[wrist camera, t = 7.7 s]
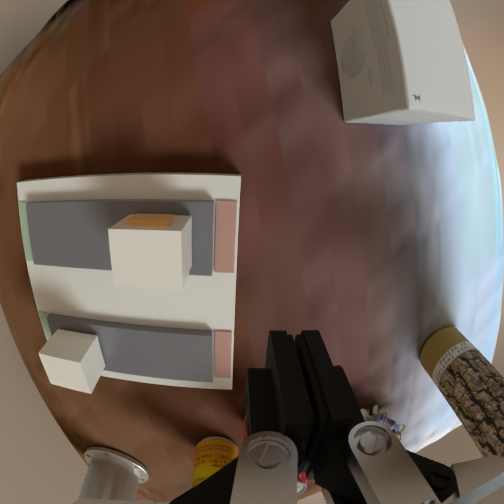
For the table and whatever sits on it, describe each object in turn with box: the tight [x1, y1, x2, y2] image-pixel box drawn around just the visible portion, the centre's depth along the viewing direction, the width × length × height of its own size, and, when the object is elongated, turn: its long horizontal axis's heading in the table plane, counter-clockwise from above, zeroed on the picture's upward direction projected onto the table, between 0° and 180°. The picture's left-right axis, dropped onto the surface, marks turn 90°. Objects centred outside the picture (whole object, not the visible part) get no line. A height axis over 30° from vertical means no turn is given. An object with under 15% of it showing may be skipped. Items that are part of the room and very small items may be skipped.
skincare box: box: [330, 0, 475, 125], centre depth 17 cm, size 10×6×10 cm, turn 5°
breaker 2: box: [108, 214, 192, 290], centre depth 20 cm, size 4×5×4 cm
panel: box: [17, 173, 241, 390], centre depth 26 cm, size 22×22×3 cm
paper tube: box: [420, 327, 504, 459], centre depth 21 cm, size 7×7×25 cm
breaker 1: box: [39, 329, 105, 394], centre depth 24 cm, size 4×5×4 cm
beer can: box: [192, 437, 238, 488], centre depth 29 cm, size 6×6×15 cm
